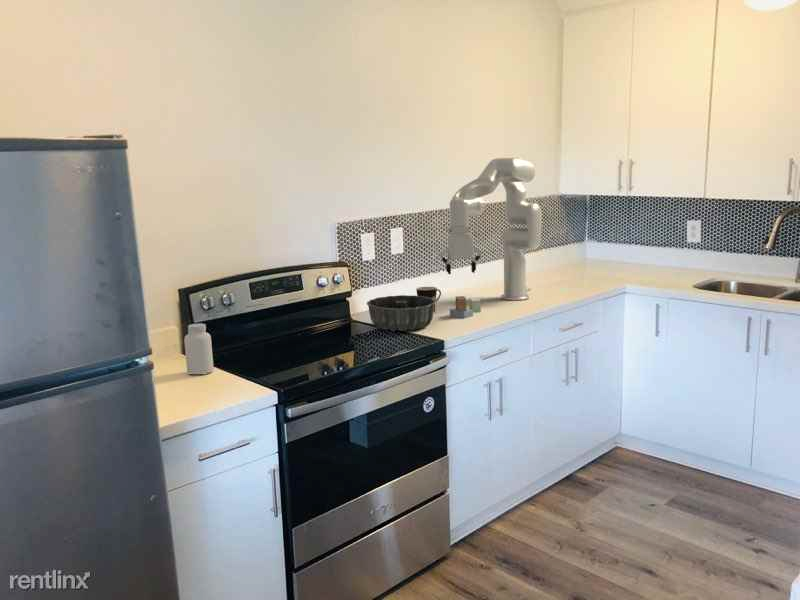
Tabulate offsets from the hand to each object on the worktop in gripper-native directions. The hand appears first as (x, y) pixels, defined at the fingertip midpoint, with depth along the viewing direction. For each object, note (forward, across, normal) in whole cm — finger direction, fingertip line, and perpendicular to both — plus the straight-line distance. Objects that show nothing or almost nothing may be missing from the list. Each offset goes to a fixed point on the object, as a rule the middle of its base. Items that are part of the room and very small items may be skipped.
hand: (461, 273), depth 292 cm
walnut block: (+15, -1, -1) cm, 15 cm away
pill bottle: (+16, -93, -63) cm, 113 cm away
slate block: (+18, 0, 0) cm, 18 cm away
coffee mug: (+18, -11, +11) cm, 24 cm away
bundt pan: (+17, -26, -14) cm, 34 cm away
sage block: (+18, +7, +8) cm, 21 cm away
